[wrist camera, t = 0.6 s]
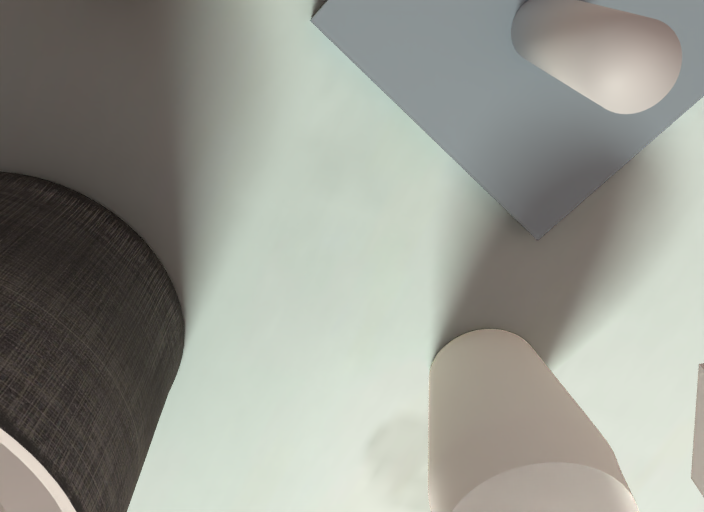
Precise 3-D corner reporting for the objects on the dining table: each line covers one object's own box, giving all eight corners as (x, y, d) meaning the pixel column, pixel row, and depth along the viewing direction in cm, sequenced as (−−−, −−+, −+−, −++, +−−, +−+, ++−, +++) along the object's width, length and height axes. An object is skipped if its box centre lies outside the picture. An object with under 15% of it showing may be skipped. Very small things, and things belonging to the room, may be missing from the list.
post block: (311, 18, 30) (299, 56, 20) (544, -253, 26) (673, -371, 16) (532, 233, 35) (609, 346, 25) (758, 34, 31) (956, 78, 21)
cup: (480, 280, 37) (542, 423, 26) (589, 363, 39) (687, 523, 28) (377, 385, 40) (394, 552, 29) (485, 455, 42) (538, 632, 31)
